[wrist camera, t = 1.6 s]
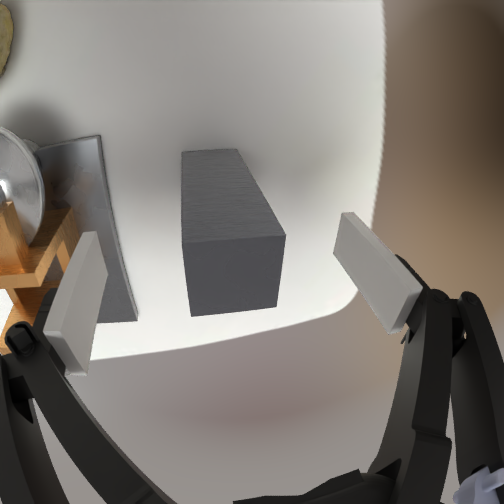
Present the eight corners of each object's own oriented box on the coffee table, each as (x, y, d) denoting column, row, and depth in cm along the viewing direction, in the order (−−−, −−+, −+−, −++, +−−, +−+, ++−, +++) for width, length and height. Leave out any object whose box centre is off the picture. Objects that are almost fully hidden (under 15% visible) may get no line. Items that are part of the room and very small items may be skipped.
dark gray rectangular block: (181, 151, 20) (181, 243, 11) (236, 149, 21) (285, 235, 12) (184, 200, 23) (191, 316, 13) (235, 197, 23) (276, 306, 14)
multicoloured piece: (-40, 132, 13) (-132, 198, 4) (96, 89, 16) (5, 123, 6) (28, 318, 26) (2, 409, 16) (138, 313, 28) (134, 422, 19)
